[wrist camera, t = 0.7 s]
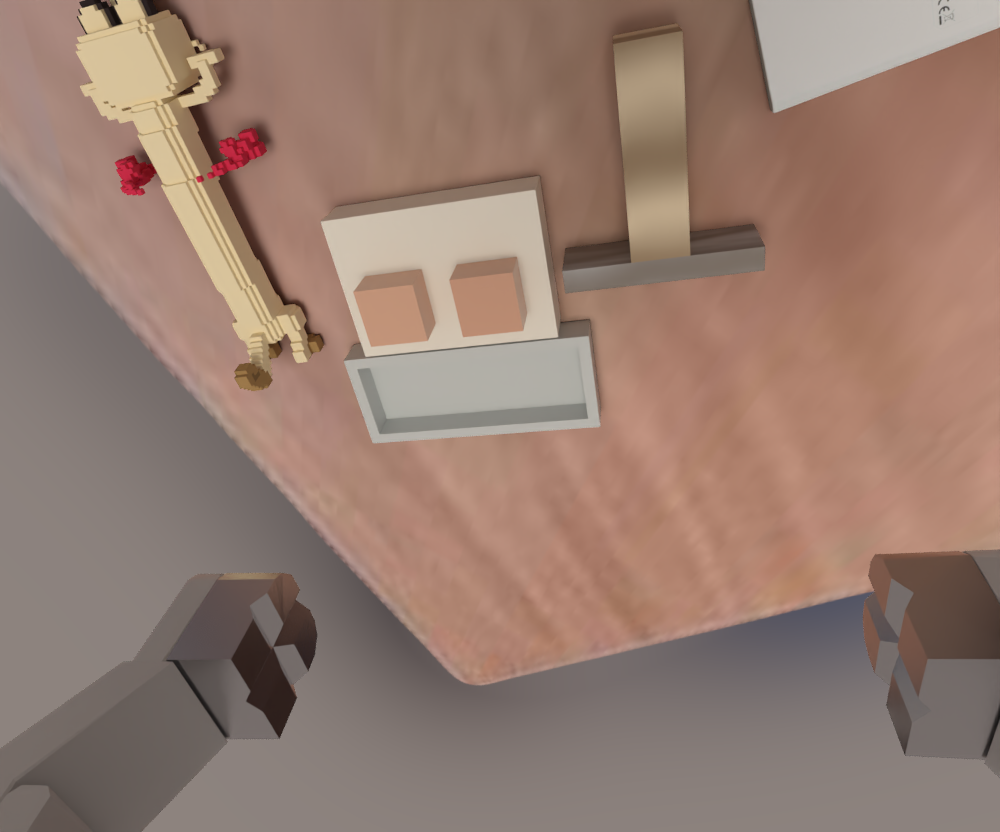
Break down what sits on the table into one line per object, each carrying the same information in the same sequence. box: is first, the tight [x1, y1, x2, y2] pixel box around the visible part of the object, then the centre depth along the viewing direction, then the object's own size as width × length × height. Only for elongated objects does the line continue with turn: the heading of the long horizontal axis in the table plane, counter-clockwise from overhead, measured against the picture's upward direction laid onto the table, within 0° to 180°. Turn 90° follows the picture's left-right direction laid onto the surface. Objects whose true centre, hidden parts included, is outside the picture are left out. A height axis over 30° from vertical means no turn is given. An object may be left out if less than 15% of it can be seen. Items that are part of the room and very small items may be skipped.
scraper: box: [562, 23, 765, 293], centre depth 40 cm, size 14×12×4 cm
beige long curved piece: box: [76, 0, 324, 391], centre depth 44 cm, size 10×9×25 cm
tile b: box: [449, 257, 527, 337], centre depth 44 cm, size 4×4×2 cm
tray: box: [344, 319, 601, 443], centre depth 52 cm, size 8×18×2 cm, turn 100°
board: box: [321, 176, 561, 357], centre depth 46 cm, size 10×14×3 cm
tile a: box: [353, 269, 436, 347], centre depth 45 cm, size 4×4×2 cm
